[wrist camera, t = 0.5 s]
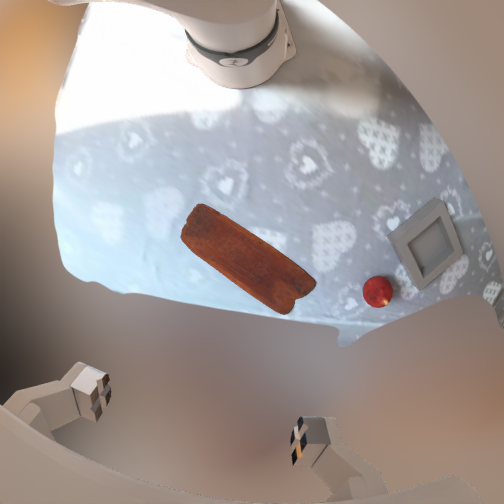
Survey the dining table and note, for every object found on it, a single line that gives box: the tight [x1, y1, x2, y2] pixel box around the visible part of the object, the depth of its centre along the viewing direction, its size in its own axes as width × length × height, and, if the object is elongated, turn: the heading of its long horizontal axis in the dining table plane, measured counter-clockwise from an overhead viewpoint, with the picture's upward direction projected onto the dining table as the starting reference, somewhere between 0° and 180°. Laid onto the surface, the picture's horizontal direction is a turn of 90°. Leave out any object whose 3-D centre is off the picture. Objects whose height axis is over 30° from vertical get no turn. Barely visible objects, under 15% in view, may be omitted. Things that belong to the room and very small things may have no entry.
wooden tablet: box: [180, 204, 315, 315], centre depth 50 cm, size 27×10×2 cm, turn 53°
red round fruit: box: [363, 276, 393, 308], centre depth 47 cm, size 6×6×8 cm
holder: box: [387, 198, 463, 291], centre depth 46 cm, size 13×13×4 cm
